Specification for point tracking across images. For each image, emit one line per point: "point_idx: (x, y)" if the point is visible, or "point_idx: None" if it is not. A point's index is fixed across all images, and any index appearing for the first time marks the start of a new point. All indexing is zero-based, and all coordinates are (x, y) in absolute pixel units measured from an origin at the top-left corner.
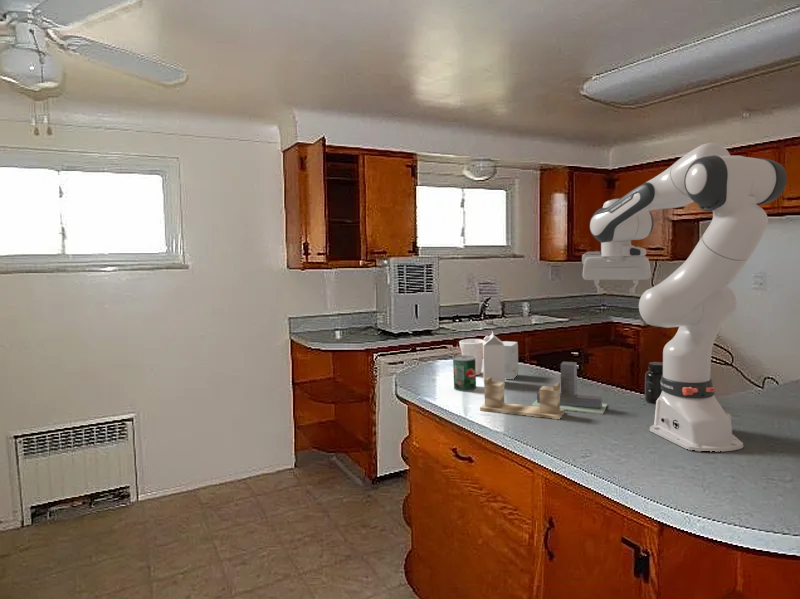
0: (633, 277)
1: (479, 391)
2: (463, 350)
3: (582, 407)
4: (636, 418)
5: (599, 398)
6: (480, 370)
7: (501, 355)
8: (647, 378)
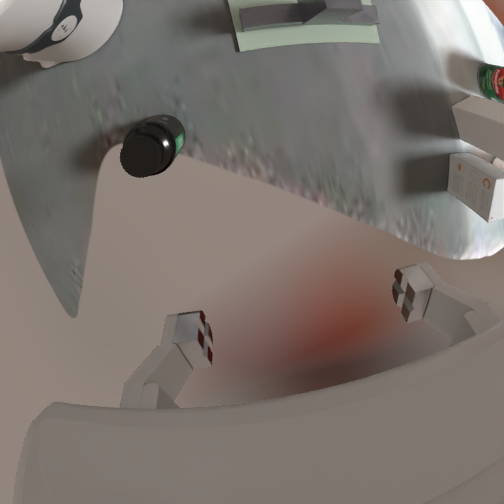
0: (135, 427)
1: (469, 66)
2: None
3: None
4: (162, 14)
5: (244, 14)
6: None
7: (496, 118)
8: (164, 124)
